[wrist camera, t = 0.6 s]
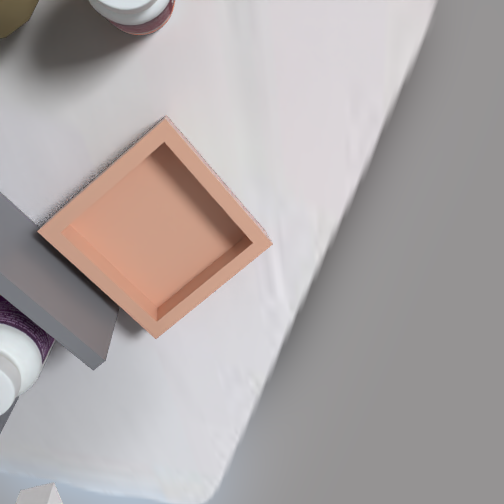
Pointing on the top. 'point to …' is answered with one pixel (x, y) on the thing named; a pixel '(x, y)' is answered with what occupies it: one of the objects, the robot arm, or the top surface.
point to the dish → (157, 230)
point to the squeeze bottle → (14, 14)
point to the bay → (52, 291)
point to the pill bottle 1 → (19, 353)
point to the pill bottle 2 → (135, 14)
